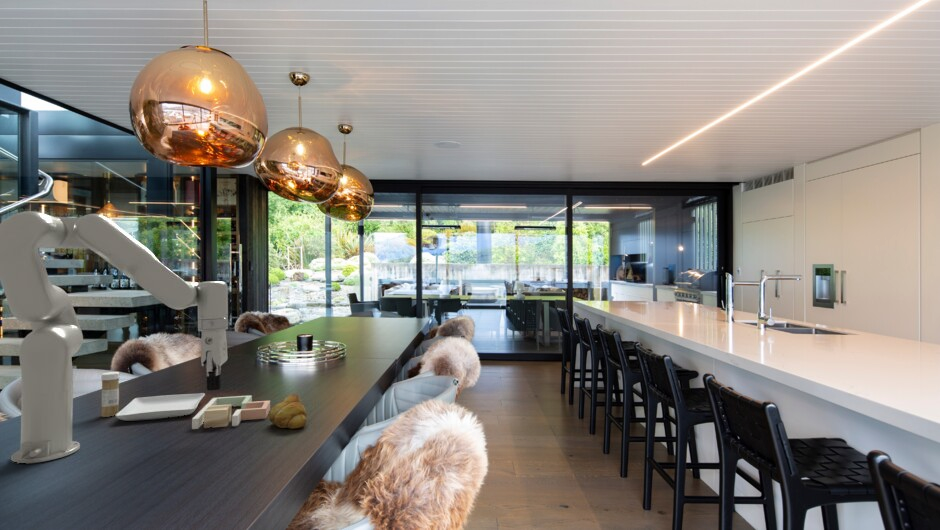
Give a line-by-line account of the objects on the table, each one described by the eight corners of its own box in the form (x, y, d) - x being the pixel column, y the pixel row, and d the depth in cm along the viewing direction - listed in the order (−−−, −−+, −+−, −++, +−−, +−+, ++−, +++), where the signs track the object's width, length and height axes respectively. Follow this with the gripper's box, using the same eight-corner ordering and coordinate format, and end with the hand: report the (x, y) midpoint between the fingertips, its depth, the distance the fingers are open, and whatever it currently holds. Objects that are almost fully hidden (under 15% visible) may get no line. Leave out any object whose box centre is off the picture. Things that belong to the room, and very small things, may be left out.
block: (226, 426, 138) (226, 409, 139) (203, 428, 137) (204, 411, 137) (231, 420, 144) (231, 404, 144) (209, 422, 143) (209, 405, 143)
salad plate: (195, 418, 147) (195, 407, 147) (113, 426, 139) (113, 414, 140) (205, 401, 167) (205, 391, 167) (134, 407, 159) (134, 397, 159)
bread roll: (313, 427, 137) (313, 400, 138) (279, 434, 131) (279, 406, 131) (297, 417, 147) (297, 391, 147) (264, 423, 141) (265, 396, 141)
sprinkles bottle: (118, 412, 152) (119, 370, 153) (119, 415, 149) (120, 373, 149) (100, 415, 149) (101, 372, 150) (100, 418, 146) (101, 374, 146)
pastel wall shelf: (263, 423, 141) (263, 413, 141) (191, 429, 135) (192, 418, 136) (273, 402, 164) (273, 393, 164) (213, 406, 159) (213, 397, 159)
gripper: (221, 326, 127) (222, 394, 127) (233, 321, 142) (233, 382, 142) (190, 328, 125) (191, 397, 125) (205, 322, 140) (206, 384, 140)
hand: (213, 389), depth 133 cm, fingers closed
